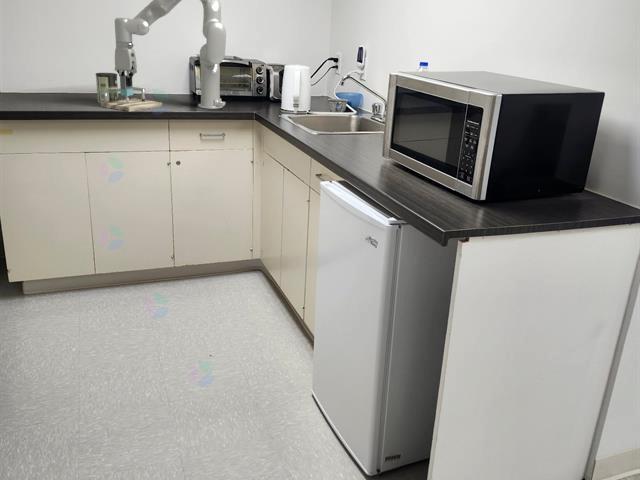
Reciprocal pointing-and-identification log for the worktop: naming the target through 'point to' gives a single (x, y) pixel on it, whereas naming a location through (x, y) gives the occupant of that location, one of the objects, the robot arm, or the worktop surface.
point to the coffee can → (106, 86)
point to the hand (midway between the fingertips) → (126, 85)
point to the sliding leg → (125, 88)
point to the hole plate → (131, 104)
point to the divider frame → (120, 90)
